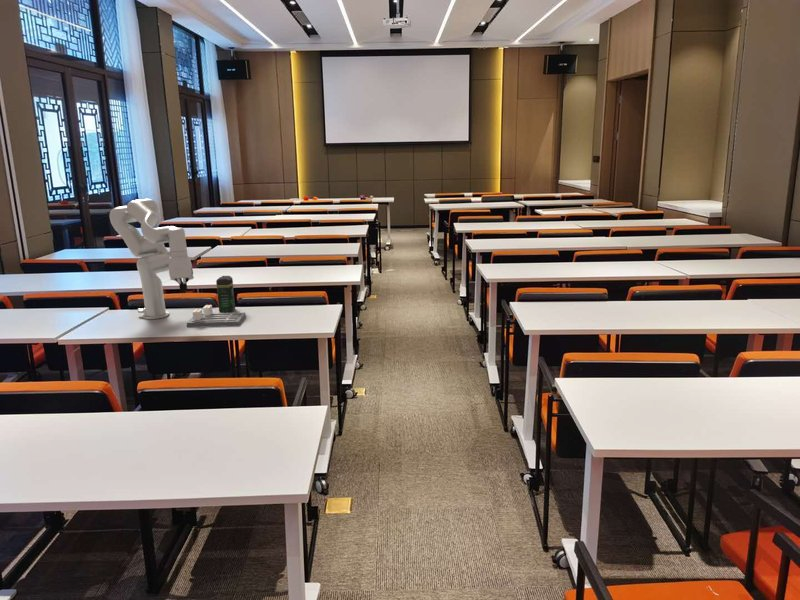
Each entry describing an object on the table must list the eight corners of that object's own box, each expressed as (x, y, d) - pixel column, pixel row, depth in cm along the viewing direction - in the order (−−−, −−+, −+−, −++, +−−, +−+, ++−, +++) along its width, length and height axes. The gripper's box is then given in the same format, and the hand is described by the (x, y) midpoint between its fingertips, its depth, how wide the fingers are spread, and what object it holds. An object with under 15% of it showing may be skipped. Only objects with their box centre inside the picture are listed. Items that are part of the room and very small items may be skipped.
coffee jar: (233, 313, 305) (229, 278, 300) (217, 313, 304) (214, 279, 299) (237, 308, 314) (233, 274, 309) (222, 308, 313) (218, 274, 308)
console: (186, 326, 284) (185, 312, 282) (196, 317, 298) (194, 304, 296) (238, 325, 284) (237, 311, 282) (245, 316, 299) (244, 303, 297)
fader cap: (193, 320, 284) (192, 311, 283) (196, 317, 289) (195, 309, 288) (199, 319, 284) (198, 311, 283) (202, 316, 289) (201, 308, 288)
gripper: (160, 256, 274) (165, 294, 279) (192, 254, 274) (197, 292, 279) (165, 253, 281) (171, 290, 286) (197, 251, 282) (201, 289, 286)
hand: (183, 291), depth 283 cm, fingers closed
